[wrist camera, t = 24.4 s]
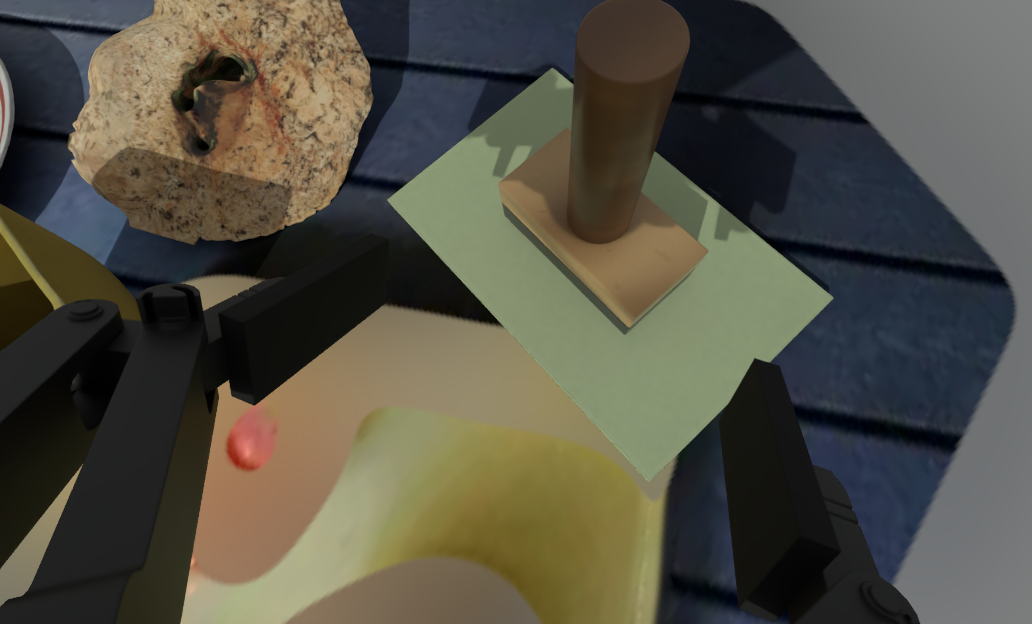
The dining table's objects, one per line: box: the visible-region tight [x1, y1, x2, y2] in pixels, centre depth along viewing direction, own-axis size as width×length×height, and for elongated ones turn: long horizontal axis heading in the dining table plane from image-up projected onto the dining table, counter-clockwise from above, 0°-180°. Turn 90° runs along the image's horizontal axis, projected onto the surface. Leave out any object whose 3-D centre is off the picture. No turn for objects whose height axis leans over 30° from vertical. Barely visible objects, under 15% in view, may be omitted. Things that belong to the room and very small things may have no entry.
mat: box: [388, 68, 833, 482], centre depth 27 cm, size 22×14×1 cm, turn 42°
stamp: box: [498, 0, 708, 335], centre depth 20 cm, size 10×5×14 cm, turn 41°
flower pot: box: [0, 204, 142, 383], centre depth 23 cm, size 9×9×9 cm
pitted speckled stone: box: [67, 0, 374, 245], centre depth 29 cm, size 18×14×8 cm
